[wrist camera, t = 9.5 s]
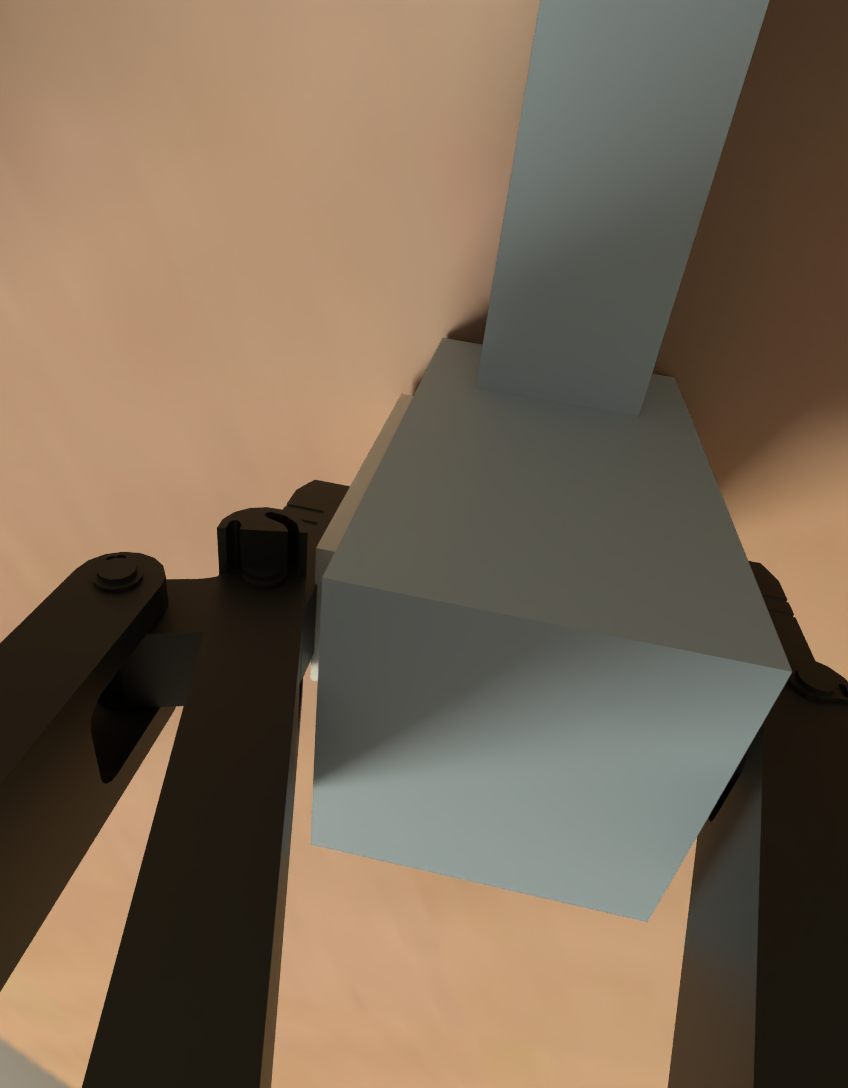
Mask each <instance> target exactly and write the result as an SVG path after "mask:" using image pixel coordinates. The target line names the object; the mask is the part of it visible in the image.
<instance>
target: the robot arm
mask: <svg viewBox="0 0 848 1088" xmlns="http://www.w3.org/2000/svg"><path fill="white" fill-rule="evenodd" d="M412 398H413V396H410V395H405V394H401V396H400V397H399V399H398V401H397V403H396V405H395V406H394V408H393V410H392V412H391V414H390V415H389V417H388V419H387V421H386V423H385V424H384V426H383V428H382V430H381V432H380V433H379V435H378V437H377V439H376V441H375V442H374V444H373V446H372V448H371V450H370V451H369V453H368V455H367V457H366V459H365V461H364V462H363V464H362V466H361V468H360V470H359V471H358V473H357V475H356V477H355V479H354V480H353V482H352V484H351V486H345V485H340V484H335V483H329V482H324V481H319V480H313V481H312V482H310V483H308V484H306V485H304V486H303V487H301V488H299V489H297V490H296V491H295V493H294V494H293V496H292V497H291V499H290V500H289V501H288V503H287V506H286V507H284V509H283V510H281V509H275V508H268V507H263V508H249V509H245V510H241V511H237V512H234V513H232V514H231V515H229V516H227V517H226V518H224V519H223V520H222V521H221V523H220V524H219V526H218V527H217V538H218V557H219V576H217V577H212V578H204V579H166V575H165V571H164V567H163V565H162V564H161V563H160V562H158V561H157V560H156V559H155V558H153V557H150V556H147V555H144V554H141V553H132V552H119V553H111V554H105V555H102V556H99V557H96V558H94V559H91V560H88V561H87V562H85V563H84V564H83V565H81V566H80V567H78V568H77V569H76V570H74V571H73V572H72V573H71V574H70V575H69V576H68V577H67V578H66V579H65V580H64V581H63V582H62V583H61V584H60V585H59V586H58V587H57V588H56V589H55V590H54V591H53V592H52V593H51V594H50V595H49V596H48V597H47V598H46V599H45V600H44V601H43V602H42V603H41V604H40V605H39V606H38V607H37V608H36V609H35V610H34V611H33V612H32V613H31V614H30V615H29V616H28V617H27V618H26V619H25V620H24V621H23V622H22V623H21V624H20V625H19V626H17V627H16V628H15V629H14V630H13V631H12V632H11V633H10V634H9V635H8V636H7V637H6V638H5V639H4V640H3V641H2V642H1V643H0V991H1V990H2V988H3V987H4V985H5V983H6V982H7V980H8V978H9V977H10V975H11V974H12V972H13V970H14V969H15V967H16V966H17V964H18V962H19V961H20V959H21V957H22V956H23V954H24V953H25V951H26V949H27V948H28V946H29V944H30V943H31V941H32V940H33V938H34V936H35V935H36V933H37V932H38V930H39V928H40V927H41V925H42V923H43V922H44V920H45V919H46V917H47V915H48V914H49V912H50V911H51V909H52V907H53V906H54V904H55V902H56V901H57V899H58V898H59V896H60V894H61V893H62V891H63V890H64V888H65V886H66V885H67V883H68V881H69V880H70V878H71V877H72V875H73V873H74V872H75V870H76V869H77V867H78V865H79V864H80V862H81V860H82V859H83V857H84V856H85V854H86V852H87V851H88V849H89V847H90V846H91V844H92V843H93V841H94V839H95V838H96V836H97V835H98V833H99V831H100V830H101V828H102V826H103V825H104V823H105V822H106V820H107V818H108V817H109V815H110V814H111V812H112V810H113V809H114V807H115V805H116V804H117V802H118V801H119V799H120V797H121V796H122V794H123V793H124V791H125V789H126V788H127V786H128V784H129V783H130V781H131V780H132V778H133V776H134V775H135V773H136V771H137V770H138V768H139V767H140V765H141V763H142V762H143V760H144V759H145V757H146V755H147V754H148V752H149V750H150V749H151V747H152V746H153V744H154V742H155V741H156V739H157V738H158V736H159V734H160V733H161V731H162V729H163V728H164V726H165V725H166V723H167V721H168V720H169V718H170V717H171V715H172V713H173V712H174V710H175V708H176V706H184V707H183V711H182V715H181V718H180V722H179V726H178V730H177V733H176V737H175V741H174V745H173V748H172V752H171V756H170V760H169V763H168V767H167V771H166V774H165V778H164V782H163V786H162V789H161V793H160V797H159V801H158V804H157V808H156V812H155V816H154V819H153V823H152V827H151V831H150V834H149V838H148V842H147V846H146V849H145V853H144V857H143V861H142V864H141V868H140V872H139V876H138V879H137V883H136V887H135V891H134V894H133V898H132V902H131V906H130V909H129V913H128V917H127V921H126V924H125V928H124V932H123V935H122V939H121V943H120V947H119V950H118V954H117V958H116V962H115V965H114V969H113V973H112V977H111V980H110V984H109V988H108V992H107V995H106V999H105V1003H104V1007H103V1010H102V1014H101V1018H100V1022H99V1025H98V1029H97V1033H96V1037H95V1040H94V1044H93V1048H92V1052H91V1055H90V1059H89V1063H88V1067H87V1070H86V1074H85V1078H84V1081H83V1085H82V1088H271V1080H272V1067H273V1055H274V1042H275V1030H276V1018H277V1005H278V993H279V980H280V968H281V955H282V943H283V931H284V918H285V906H286V893H287V881H288V868H289V856H290V844H291V831H292V819H293V806H294V794H295V781H296V769H297V757H298V744H299V732H300V719H301V707H302V692H303V676H304V674H305V672H306V670H307V667H308V665H309V663H310V661H311V680H315V681H318V664H319V641H320V619H321V596H322V577H323V575H324V573H325V571H326V569H327V567H328V565H329V563H330V561H331V559H332V557H333V555H334V553H335V551H336V549H337V547H338V545H339V543H340V541H341V539H342V537H343V535H344V533H345V531H346V529H347V527H348V525H349V523H350V521H351V519H352V517H353V515H354V513H355V511H356V509H357V507H358V505H359V503H360V501H361V499H362V497H363V495H364V493H365V491H366V490H367V488H368V486H369V484H370V482H371V480H372V478H373V476H374V474H375V472H376V470H377V468H378V466H379V464H380V462H381V460H382V458H383V456H384V454H385V452H386V450H387V448H388V446H389V444H390V442H391V440H392V438H393V436H394V434H395V432H396V430H397V428H398V426H399V424H400V422H401V420H402V418H403V416H404V414H405V412H406V410H407V408H408V406H409V404H410V402H411V400H412ZM748 562H749V564H750V567H751V569H752V572H753V574H754V577H755V579H756V582H757V585H758V587H759V590H760V592H761V595H762V597H763V600H764V602H765V605H766V607H767V610H768V612H769V615H770V617H771V620H772V622H773V625H774V627H775V630H776V632H777V635H778V637H779V640H780V642H781V645H782V647H783V650H784V652H785V655H786V657H787V660H788V662H789V665H790V667H791V670H792V673H791V675H790V677H789V678H788V680H787V682H786V684H785V685H784V687H783V689H782V690H781V692H780V694H779V696H778V697H777V699H776V701H775V703H774V704H773V706H772V708H771V709H770V711H769V713H768V715H767V716H766V718H765V720H764V722H763V723H762V725H761V727H760V728H759V730H758V732H757V734H756V735H755V737H754V739H753V741H752V742H751V744H750V746H749V747H748V749H747V751H746V753H745V754H744V756H743V758H742V760H741V761H740V763H739V765H738V766H737V768H736V770H735V772H734V773H733V775H732V777H731V779H730V780H729V782H728V784H727V785H726V787H725V789H724V791H723V792H722V794H721V796H720V798H719V799H718V801H717V803H716V804H715V806H714V808H713V810H712V811H711V813H710V815H709V817H708V818H707V820H706V822H705V824H704V825H703V827H702V829H701V830H700V832H699V834H698V836H697V845H696V853H695V862H694V870H693V879H692V887H691V896H690V904H689V912H688V921H687V929H686V938H685V946H684V955H683V963H682V972H681V980H680V988H679V997H678V1005H677V1014H676V1022H675V1031H674V1039H673V1048H672V1056H671V1065H670V1073H669V1081H668V1088H848V681H847V680H846V679H845V678H844V677H842V676H841V675H839V674H838V673H836V672H835V671H834V670H832V669H831V668H829V667H827V666H825V665H823V664H821V663H819V662H816V661H815V659H814V657H813V655H812V653H811V650H810V648H809V646H808V644H807V642H806V640H805V637H804V635H803V633H802V631H801V629H800V626H799V624H798V622H797V620H796V618H795V617H793V615H794V613H793V611H792V609H791V607H790V604H789V603H788V602H787V598H786V596H785V593H784V591H783V589H782V587H781V585H780V583H779V581H778V580H777V579H776V578H775V577H774V576H773V575H772V574H771V573H770V572H769V571H768V570H767V569H766V568H765V567H764V566H763V565H762V564H761V563H757V562H752V561H748Z"/></svg>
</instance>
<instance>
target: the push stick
mask: <svg viewBox="0 0 848 1088" xmlns="http://www.w3.org/2000/svg"><path fill="white" fill-rule="evenodd" d="M769 1H770V0H540V5H539V11H538V17H537V23H536V29H535V35H534V41H533V47H532V53H531V59H530V65H529V71H528V77H527V83H526V89H525V95H524V101H523V107H522V113H521V119H520V125H519V131H518V137H517V143H516V149H515V155H514V160H513V166H512V172H511V178H510V184H509V190H508V196H507V202H506V208H505V214H504V220H503V226H502V232H501V238H500V244H499V250H498V256H497V262H496V268H495V274H494V280H493V286H492V292H491V298H490V304H489V310H488V316H487V322H486V328H485V334H484V340H483V344H477V343H471V342H465V341H459V340H453V339H448V338H442V340H441V342H440V344H439V346H438V348H437V350H436V352H435V354H434V356H433V358H432V360H431V362H430V364H429V366H428V368H427V370H426V372H425V374H424V376H423V378H422V380H421V382H420V384H419V386H418V388H417V390H416V392H415V394H414V396H413V398H412V400H411V402H410V404H409V406H408V408H407V410H406V412H405V414H404V416H403V418H402V420H401V422H400V424H399V426H398V428H397V430H396V432H395V434H394V436H393V438H392V440H391V442H390V444H389V446H388V448H387V450H386V452H385V454H384V456H383V458H382V460H381V462H380V464H379V466H378V468H377V470H376V472H375V474H374V476H373V478H372V480H371V482H370V484H369V486H368V488H367V490H366V491H365V493H364V495H363V497H362V499H361V501H360V503H359V505H358V507H357V509H356V511H355V513H354V515H353V517H352V519H351V521H350V523H349V525H348V527H347V529H346V531H345V533H344V535H343V537H342V539H341V541H340V543H339V545H338V547H337V549H336V551H335V553H334V555H333V557H332V559H331V561H330V563H329V565H328V567H327V569H326V571H325V573H324V575H323V577H322V596H321V619H320V641H319V664H318V687H317V710H316V733H315V755H314V778H313V801H312V824H311V845H315V846H319V847H324V848H328V849H332V850H337V851H341V852H345V853H350V854H354V855H358V856H363V857H367V858H371V859H376V860H380V861H385V862H389V863H393V864H398V865H402V866H406V867H411V868H415V869H419V870H424V871H428V872H432V873H437V874H441V875H445V876H450V877H454V878H458V879H463V880H467V881H471V882H476V883H480V884H484V885H489V886H493V887H497V888H502V889H506V890H510V891H515V892H519V893H523V894H528V895H532V896H536V897H541V898H545V899H549V900H554V901H558V902H562V903H567V904H571V905H575V906H580V907H584V908H588V909H593V910H597V911H601V912H606V913H610V914H614V915H619V916H623V917H627V918H632V919H636V920H640V921H645V922H648V920H649V919H650V917H651V915H652V913H653V912H654V910H655V908H656V906H657V905H658V903H659V901H660V900H661V898H662V896H663V894H664V893H665V891H666V889H667V887H668V886H669V884H670V882H671V881H672V879H673V877H674V875H675V874H676V872H677V870H678V868H679V867H680V865H681V863H682V862H683V860H684V858H685V856H686V855H687V853H688V851H689V849H690V848H691V846H692V844H693V843H694V841H695V839H696V837H697V836H698V834H699V832H700V830H701V829H702V827H703V825H704V824H705V822H706V820H707V818H708V817H709V815H710V813H711V811H712V810H713V808H714V806H715V804H716V803H717V801H718V799H719V798H720V796H721V794H722V792H723V791H724V789H725V787H726V785H727V784H728V782H729V780H730V779H731V777H732V775H733V773H734V772H735V770H736V768H737V766H738V765H739V763H740V761H741V760H742V758H743V756H744V754H745V753H746V751H747V749H748V747H749V746H750V744H751V742H752V741H753V739H754V737H755V735H756V734H757V732H758V730H759V728H760V727H761V725H762V723H763V722H764V720H765V718H766V716H767V715H768V713H769V711H770V709H771V708H772V706H773V704H774V703H775V701H776V699H777V697H778V696H779V694H780V692H781V690H782V689H783V687H784V685H785V684H786V682H787V680H788V678H789V677H790V675H791V673H792V670H791V667H790V665H789V662H788V660H787V657H786V655H785V652H784V650H783V647H782V645H781V642H780V640H779V637H778V635H777V632H776V630H775V627H774V625H773V622H772V620H771V617H770V615H769V612H768V610H767V607H766V605H765V602H764V600H763V597H762V595H761V592H760V590H759V587H758V585H757V582H756V579H755V577H754V574H753V572H752V569H751V567H750V564H749V562H748V559H747V557H746V554H745V552H744V549H743V547H742V544H741V542H740V539H739V537H738V534H737V532H736V529H735V527H734V524H733V522H732V519H731V517H730V514H729V512H728V509H727V507H726V504H725V502H724V499H723V497H722V494H721V492H720V489H719V487H718V484H717V482H716V479H715V477H714V474H713V472H712V469H711V467H710V464H709V462H708V459H707V457H706V454H705V452H704V449H703V447H702V444H701V441H700V439H699V436H698V434H697V431H696V429H695V426H694V424H693V421H692V419H691V416H690V414H689V411H688V409H687V406H686V404H685V401H684V399H683V396H682V394H681V391H680V389H679V386H678V384H677V381H676V379H675V377H670V376H664V375H658V374H652V372H653V369H654V366H655V363H656V360H657V356H658V353H659V350H660V347H661V344H662V341H663V337H664V334H665V331H666V328H667V325H668V321H669V318H670V315H671V312H672V309H673V306H674V302H675V299H676V296H677V293H678V290H679V287H680V283H681V280H682V277H683V274H684V271H685V267H686V264H687V261H688V258H689V255H690V252H691V248H692V245H693V242H694V239H695V236H696V232H697V229H698V226H699V223H700V220H701V217H702V213H703V210H704V207H705V204H706V201H707V198H708V194H709V191H710V188H711V185H712V182H713V178H714V175H715V172H716V169H717V166H718V163H719V159H720V156H721V153H722V150H723V147H724V144H725V140H726V137H727V134H728V131H729V128H730V124H731V121H732V118H733V115H734V112H735V109H736V105H737V102H738V99H739V96H740V93H741V89H742V86H743V83H744V80H745V77H746V74H747V70H748V67H749V64H750V61H751V58H752V55H753V51H754V48H755V45H756V42H757V39H758V35H759V32H760V29H761V26H762V23H763V20H764V16H765V13H766V10H767V7H768V4H769Z"/></svg>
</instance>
